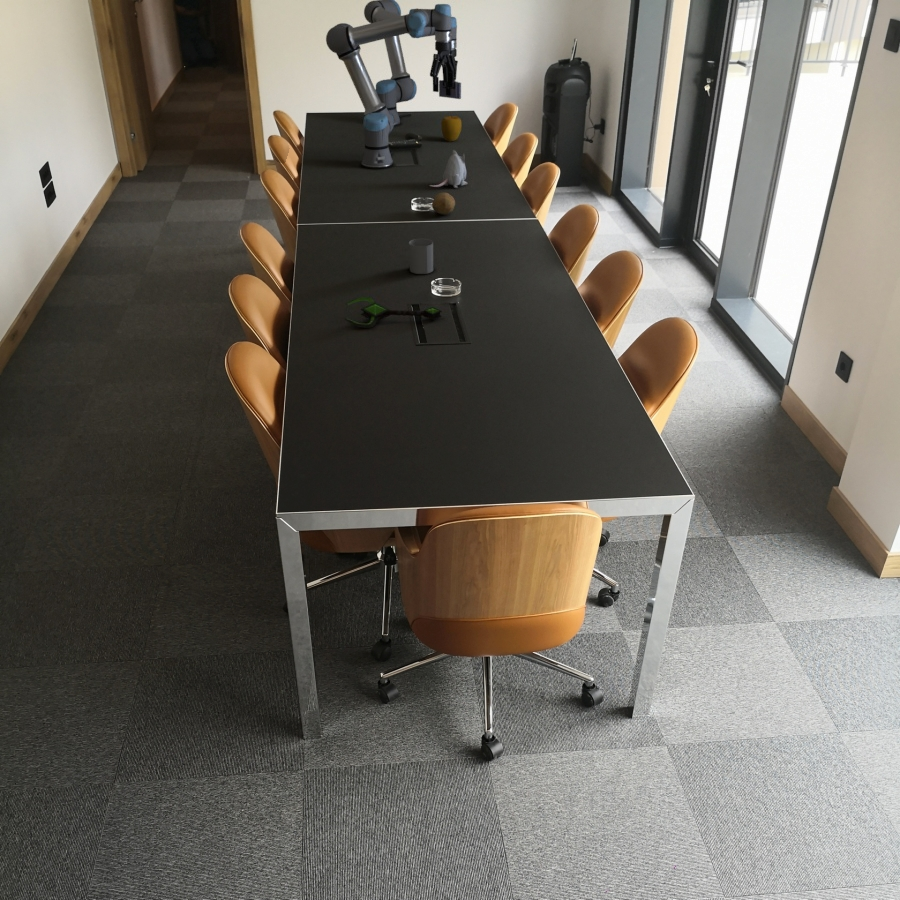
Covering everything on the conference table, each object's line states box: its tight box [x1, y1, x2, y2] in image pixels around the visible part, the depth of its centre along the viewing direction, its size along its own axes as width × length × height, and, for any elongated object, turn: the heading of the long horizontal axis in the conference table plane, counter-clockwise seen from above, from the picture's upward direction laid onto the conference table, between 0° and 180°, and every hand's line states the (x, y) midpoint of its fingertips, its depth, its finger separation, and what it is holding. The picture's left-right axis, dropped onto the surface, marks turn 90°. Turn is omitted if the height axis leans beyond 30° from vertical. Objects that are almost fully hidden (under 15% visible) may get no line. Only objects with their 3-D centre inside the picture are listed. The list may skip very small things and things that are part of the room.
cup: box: [408, 237, 434, 275], centre depth 305 cm, size 8×8×10 cm
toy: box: [428, 149, 468, 189], centre depth 390 cm, size 9×24×15 cm, turn 137°
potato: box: [431, 192, 456, 216], centre depth 360 cm, size 10×14×8 cm
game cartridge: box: [438, 79, 462, 100], centre depth 481 cm, size 14×3×9 cm, turn 58°
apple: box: [441, 115, 462, 142], centre depth 467 cm, size 11×11×13 cm
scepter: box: [344, 296, 443, 329], centre depth 270 cm, size 6×13×30 cm
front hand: (443, 89), depth 418 cm, fingers open, 13 cm apart
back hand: (449, 94), depth 482 cm, fingers closed on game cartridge, 2 cm apart
